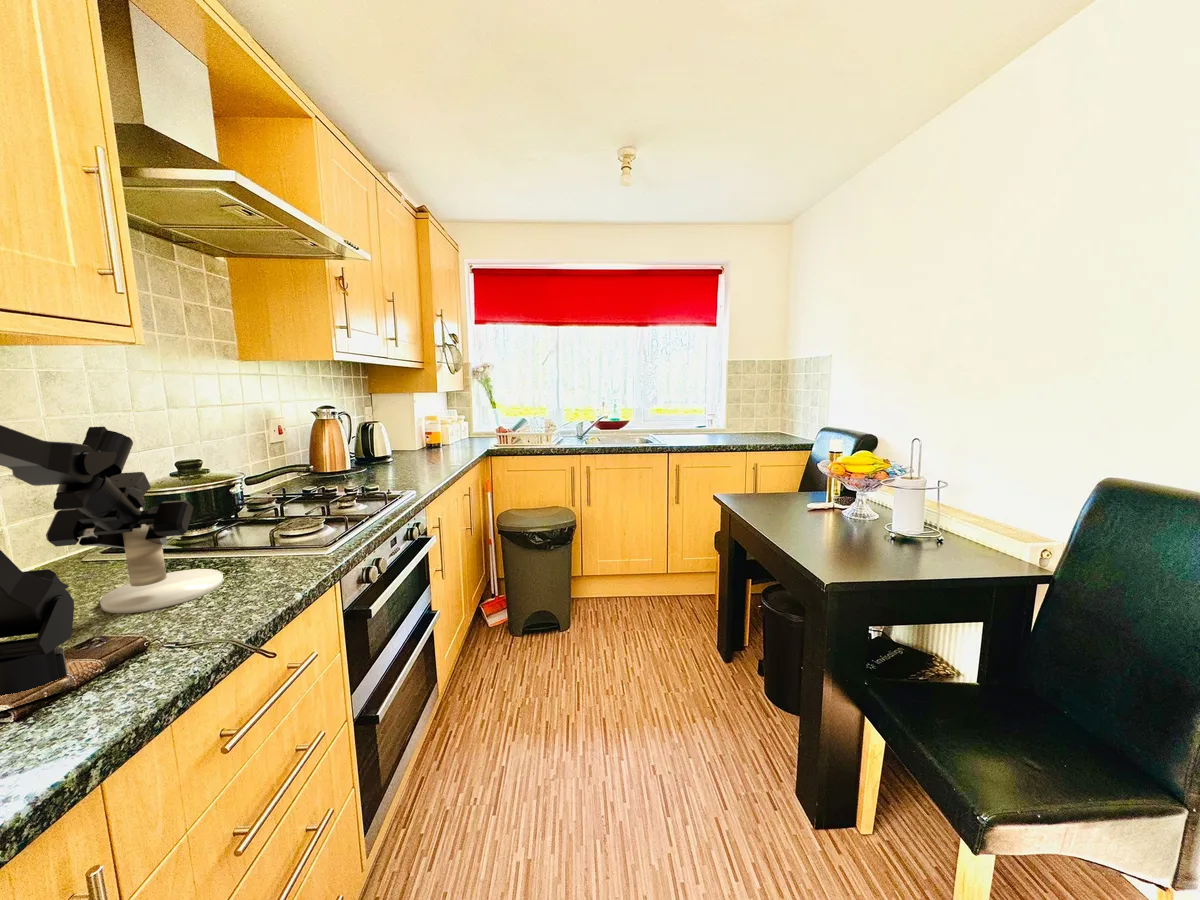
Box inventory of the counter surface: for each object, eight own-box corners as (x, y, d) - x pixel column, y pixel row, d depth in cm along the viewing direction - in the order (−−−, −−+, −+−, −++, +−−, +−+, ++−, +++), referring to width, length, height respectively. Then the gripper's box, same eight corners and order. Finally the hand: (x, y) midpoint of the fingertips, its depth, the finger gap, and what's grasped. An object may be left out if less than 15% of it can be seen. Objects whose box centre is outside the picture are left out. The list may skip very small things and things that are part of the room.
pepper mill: (142, 587, 90) (131, 517, 88) (123, 584, 91) (112, 515, 89) (173, 577, 94) (163, 510, 93) (154, 574, 96) (144, 508, 94)
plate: (104, 623, 85) (102, 616, 85) (98, 594, 97) (97, 588, 97) (232, 589, 98) (231, 584, 98) (213, 567, 110) (212, 562, 110)
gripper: (180, 456, 88) (216, 502, 100) (46, 463, 83) (100, 511, 95) (163, 510, 82) (203, 553, 94) (16, 522, 77) (78, 566, 89)
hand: (147, 544), depth 93 cm, fingers closed on pepper mill, 5 cm apart
